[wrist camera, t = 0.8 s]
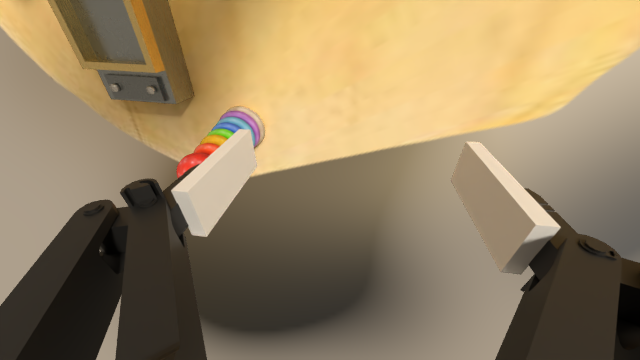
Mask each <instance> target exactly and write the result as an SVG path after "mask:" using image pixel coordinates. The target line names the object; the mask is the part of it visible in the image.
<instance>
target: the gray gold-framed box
mask: <svg viewBox="0 0 640 360" xmlns="http://www.w3.org/2000/svg"><path fill="white" fill-rule="evenodd" d="M48 2H49V4H50V6H51V8H52V10H53V12H54V14H55V16H56V18H57V19H58V21H59V23H60V25H61V27H62V29H63V31H64V33H65V35H66V37H67V39H68V41H69V43H70V45H71V47H72V49H73V51H74V53H75V54H76V56H77V58H78V60H79V62H80V64H81V66H82V68H83V69H97V71H98V73H99V75H100V77H101V79H102V81H103V83H104V85H105V87H106V89H107V92H108V94H109V96H110V98H111V99H117V100H131V101H144V102H158V103H171V104H177V103H179V102H182V101H184V100H186V99H188V98H191V97H193V96H194V92H193V89H192V85H191V82H190V78H189V75H188V71H187V67H186V64H185V60H184V57H183V53H182V50H181V46H180V42H179V39H178V35H177V32H176V28H175V24H174V21H173V17H172V14H171V10H170V7H169V3H168V0H48Z"/></svg>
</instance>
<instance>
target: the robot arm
mask: <svg viewBox="0 0 640 360" xmlns="http://www.w3.org/2000/svg"><path fill="white" fill-rule="evenodd" d="M256 167H257V162H256V157H255V151H254V146H253V141H252V136H251V131H250V130H245V129H239V130H238V131H237V132H235V133H234V134H233V135H232V136H231V137H230V138H229V139H228V140H227V141H225V142H224V143H223V144H222V145H221V146H220V147H219V148H218V149H217V150H215V151H214V152H213V153H212V154H211V155H210V156H209V157H208V158H207V159H205V160H204V161H203V162H202V163H201V164H197V165H195V166H193V167H191V168H190V169H188V170H187V171H186V172H185V173H184V174H183V175H181V176H180V177H179V178H178V180H176V181H175V182H174V183H172V184H171V185H170V186H169V187H168V188H166V189H165V190H164V191H163V192H162V190H161V188H160V186H159V184H158V182H157V181H156V180H154V179H143V180H138V181H135V182H132V183H131V184H129V185H127V186H125V187H124V188H123V189H122V190H121V192H120V194H121V195H122V197H123V198H124V200H125V201H126V203H127V204H128V206H129V207H122V208H116V207H115V205H114V204H113V203H112V201H110V200H99V201H95V202H91V203H90V204H86V205H85V206H83V207H82V208H80V209H79V210H78V211H76V212H75V213H74V215H73V216H72V217H71V218H70V220H69V221H68V222H67V223H66V225H65V226H64V227H63V228H62V230H61V231H60V232H59V233H58V235H57V236H56V237H55V238H54V240H53V241H52V242H51V243H50V245H49V246H48V247H47V248H46V250H45V251H44V252H43V253H42V255H41V256H40V257H39V258H38V260H37V261H36V262H35V263H34V265H33V266H32V267H31V268H30V270H29V271H28V272H27V273H26V275H25V276H24V277H23V278H22V280H21V281H20V282H19V283H18V284H17V286H16V287H15V288H14V289H13V291H12V292H11V293H10V294H9V296H8V297H7V298H6V299H5V301H4V302H3V303H2V304H1V306H0V360H96V358H97V355H98V353H99V350H100V347H101V345H102V342H103V340H104V337H105V335H106V332H107V330H108V327H109V325H110V322H111V320H112V317H113V314H114V312H115V309H116V307H117V304H118V302H119V299H120V297H121V294H122V297H121V306H120V317H119V327H118V338H117V348H116V359H115V360H207V357H206V351H205V346H204V340H203V335H202V329H201V323H200V317H199V311H198V305H197V300H196V294H195V289H194V283H193V277H192V271H191V265H190V260H189V254H188V248H187V243H186V237H185V236H184V233H183V232H184V231H185V230H186V228H187V227H189V229H190V231H191V233H192V235H196V236H205V237H207V236H208V234H209V233H210V231H211V230H212V229H213V227H214V226H215V224H216V223H217V222H218V220H219V219H220V217H221V216H222V215H223V213H224V212H225V210H226V209H227V208H228V206H229V205H230V203H231V202H232V201H233V199H234V198H235V196H236V195H237V194H238V192H239V191H240V189H241V188H242V187H243V185H244V184H245V182H246V181H247V180H248V178H249V177H250V175H251V174H252V173H253V171H254V170H255V168H256ZM451 182H452V184H453V186H454V187H455V189H456V191H457V193H458V195H459V197H460V198H461V200H462V202H463V204H464V206H465V208H466V210H467V211H468V213H469V215H470V217H471V219H472V221H473V222H474V224H475V226H476V228H477V230H478V232H479V233H480V235H481V237H482V239H483V241H484V243H485V244H486V246H487V248H488V250H489V252H490V254H491V255H492V257H493V259H494V261H495V263H496V264H497V266H498V268H499V270H500V272H505V273H513V274H522V273H523V271H524V270H525V269H526V268H527V267H528V265H529V266H530V267H531V269H532V270H533V272H534V273H535V274H534V275H533V276H532V277H531V279H530V280H529V281H528V282H527V283H526V284H525V285H524V286H523V287H522V289H521V290H522V291H523V292H524V291H525V292H524V294H523V296H522V299H521V301H520V303H519V306H518V308H517V310H516V313H515V315H514V317H513V320H512V322H511V324H510V326H509V329H508V331H507V333H506V336H505V338H504V340H503V343H502V345H501V347H500V350H499V352H498V354H497V357H496V359H495V360H640V263H638V262H634V261H631V260H627V259H624V258H621V257H620V255H619V254H618V253H617V252H616V251H615V250H614V249H613V248H611V247H610V246H609V245H607V244H606V243H604V242H602V241H600V240H598V239H595V238H593V237H590V236H587V235H582V234H578V233H576V231H575V230H574V229H573V228H571V226H570V225H569V224H568V223H566V221H565V220H564V219H563V218H562V217H561V216H560V215H559V214H558V213H556V212H554V209H552V207H551V206H549V205H548V203H547V202H546V201H544V199H543V198H541V196H539V195H538V194H536V193H534V192H533V191H531V190H529V189H525V188H523V187H522V186H521V185H520V184H519V183H518V182H517V181H516V180H515V178H514V177H513V176H512V175H511V174H510V173H509V172H508V171H507V170H506V169H505V168H504V167H503V166H502V165H501V164H500V163H499V162H498V161H497V160H496V158H495V157H494V156H493V155H492V154H491V153H490V152H489V151H488V150H487V149H486V148H485V147H484V146H483V145H482V144H481V143H480V142H466V143H465V145H464V148H463V150H462V153H461V155H460V158H459V161H458V163H457V166H456V168H455V171H454V173H453V176H452V179H451ZM99 249H100V250H101V252H100V251H99Z"/></svg>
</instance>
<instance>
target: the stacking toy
mask: <svg viewBox="0 0 640 360" xmlns="http://www.w3.org/2000/svg"><path fill="white" fill-rule="evenodd" d="M239 129H245V130H250V131H251V136H252V141H253V146H254V147H255V146H257V145H259V144H260V143H261V142H262V140H263V138H264V135H265V127H264V124H263V121H262V119H261V118H260V117H259V115H258V114H257V113H256V112H254V111H253V110H251V109H249V108H247V107H243V106H236V107H232V108H230V109H229V110H228V111H227V112H226V113H225V114H224V115H222V117H221V118H220V120H219V122H218V123H217V124H216V126H214V128H213V129H212V130H211V132H210V133H209V134H208V135H207V136H206V137H205V138H204V139H203V140H202V141H201V143H200V145H199V146H198V147H197V148H196V149H195V151H194V153H192V154H189V155H187V156H185V157H184V158H183V159H182V160H181V161H180V162H179V164H178V166H177V177H178V178H179V177H180V176H181V175H183V174H184V173H185V172H186V171H187V170H188V169H190V168H191V167H193V166H195V165H197V164H201V163H202V162H203V161H204V160H205V159H207V158H208V157H209V156H210V155H211V154H212V153H213V152H214V151H215V150H217V149H218V148H219V147H220V146H221V145H222V144H223V143H224V142H225V141H227V140H228V139H229V138H230V137H231V136H232V135H233V134H234V133H235V132H237V131H238V130H239Z"/></svg>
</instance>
